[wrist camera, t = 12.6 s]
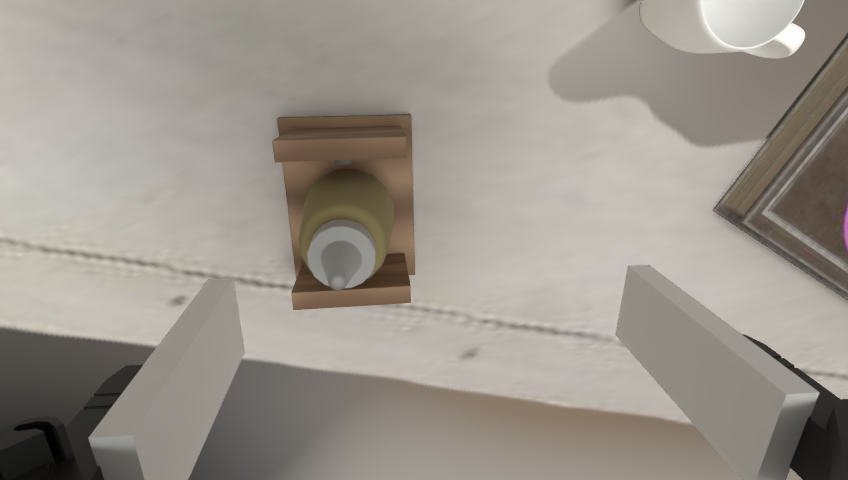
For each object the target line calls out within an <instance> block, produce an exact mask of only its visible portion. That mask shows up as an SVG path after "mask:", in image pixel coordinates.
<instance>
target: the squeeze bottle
mask: <svg viewBox="0 0 848 480" xmlns="http://www.w3.org/2000/svg"><path fill="white" fill-rule="evenodd" d="M393 224H394V202H393V200H392V198H391V196H390V194H389V192H388V190H387V188H386V187H385V186H384V185H383V184H382V183H381V182H380V181H379V180H378V179H377V178H375V177H374V176H373V175H371V174H368V173H366V172H363V171H360V170H357V169H337V170H335V171H333V172H330V173H328V174H326V175H324V176H322V177H320V178H319V179H318V180H317V181H316V182H315V184H314V185H313V186H312V187H311V188H310V189H309V190H308V194H307V197H306V200H305V203H304V206H303V212H302V219H301V226H300V233H299V246H300V255H301V257H302V259H303V260H304V262H305V264H306V265H307V267H308V269H309V270H310V271H311V272H312V273H313V275H314V277H315V278H317V279H318V280H319V281H320V282H322V283H323V284H324V285H327V286H330V287H331V288H332V289H334V290H341V289H344V288H352V287H354V286H357V285H359V284H361V283H363V282H364V281H365V280H366V279H368V278H370V277H372V276H373V275H374V274H375V273H376V272H377V270H378V269H379V268H380V267H381V266H382V265H383V262H384V260H385V257H386V255H387V252H388V249H389V244H390V239H391V234H392V229H393Z"/></svg>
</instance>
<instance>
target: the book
mask: <svg viewBox="0 0 848 480" xmlns="http://www.w3.org/2000/svg"><path fill="white" fill-rule="evenodd" d="M765 139H768V140H767V141H766V142H765V144H764V145H763V146H762V148H761V149H760V150H759V151H758V153H757V154H756V155H755V157H754V158H753V159H752V160H751V162H750V163H749V164H748V166H747V167H746V168H745V169H744V171H743V172H742V173H741V175H740V176H739V177H738V178H737V180H736V181H735V182H734V183H733V185H732V186H731V187H730V189H729V190H728V191H727V192H726V194H725V195H724V196H723V198H722V199H721V200H720V201H719V203H718V204H717V205H716V207H715V208H714V209H713V211H714V212H716V213H717V214H719V215H720V216H722V217H723V218H725V219H726V220H728V221H729V222H731V223H732V224H734V225H735V226H737V227H738V228H740V229H741V230H743V231H744V232H746V233H747V234H749V235H750V236H752V237H753V238H755V239H756V240H758V241H759V242H761V243H762V244H764V245H765V246H767V247H768V248H770V249H771V250H773V251H774V252H776V253H777V254H779V255H780V256H782V257H783V258H785V259H786V260H788V261H789V262H791V263H792V264H794V265H795V266H797V267H799V268H800V269H802V270H803V271H805V272H806V273H808V274H809V275H811V276H812V277H814V278H815V279H817V280H818V281H820V282H821V283H823V284H824V285H826V286H827V287H829V288H830V289H832V290H833V291H835V292H836V293H838V294H839V295H841V296H842V297H844V298H845V299H847V300H848V33H847V34H846V36H845V37H844V38H843V39H842V41H841V42H840V43H839V44H838V46H837V47H836V48H835V50H834V51H833V52H832V53H831V55H830V56H829V57H828V59H827V60H826V61H825V62H824V64H823V65H822V66H821V68H820V69H819V70H818V71H817V73H816V74H815V75H814V77H813V78H812V79H811V80H810V82H809V83H808V84H807V85H806V87H805V88H804V89H803V91H802V92H801V93H800V94H799V96H798V97H797V98H796V100H795V101H794V102H793V103H792V105H791V106H790V107H789V109H788V110H787V111H786V113H785V114H784V115H783V116H782V118H781V119H780V120H779V121H778V123H777V124H776V126H774V128H773V129H772V130H771V132H770V133H769V134H768V136H767V137H766V138H765ZM765 139H764V140H765Z"/></svg>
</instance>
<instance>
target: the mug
mask: <svg viewBox="0 0 848 480" xmlns="http://www.w3.org/2000/svg"><path fill="white" fill-rule="evenodd" d="M803 3H804V0H641V3H640V9H639V14H640V19H641V22H642V24H643V26H644V27H645V28H646V29H647V30H648V31H650V32H651V33H653V34H654V35H655V36H656V37H658V38H659V39H661V40H662V41H663V42H665V43H666V44H668V45H670V46H672V47H674V48H676V49H678V50H682V51H686V52H691V53H724V52H739V51H743V52H747V53H749V54H753V55H756V56H760V57H767V58H784V57H788V56H790V55H792V54H793V53H794V52H795V51H796V50H797V49H798V48H799V47H800V46H801V44H802V42H803V41H804V38H805V32H804V31H803V29H802V28H800V27H799V26H797V25H795V24H793V23H791V22H792V21H793V20H794V18H795V17H796V15H797V14H798V12H799V10H800V9H801V7H802V5H803Z"/></svg>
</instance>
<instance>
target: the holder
mask: <svg viewBox="0 0 848 480" xmlns="http://www.w3.org/2000/svg"><path fill="white" fill-rule="evenodd" d="M277 121H278V129H279V137H277V138H276V139H274V140H273V141H272V143H273V151H274V158H275V162H283V171H284V179H285V187H286V196H287V204H288V212H289V221H290V229H291V237H292V246H293V254H294V262H295V271H296V282H295V285H294V287H293V290H292V293H291V294H292V302H293V310H302V309H318V308H334V307H350V306H367V305H383V304H399V303H411V293H410V281H409V276H408V275H415V255H414V213H413V172H412V130H411V115H410V114H404V115H364V116H324V117H284V118H278V119H277ZM337 169H357V170H360V171H363V172H366V173H368V174H371V175H373V176H374V177H375V178H377V179H378V180H379V181H380V182H381V183H382V184H383V185H384V186H385V187H386V188H387V190H388V192H389V194H390V196H391V198H392V200H393V202H394V224H393V229H392V234H391V239H390V244H389V249H388V252H387V255H386V257H385V260H384V262H383V265H382V266H381V267H380V268H379V269H378V270H377V272H376V273H375V274H374V275H373V276H372V277H370V278H368V279H366V280H365V281H364V282H363V283H361V284H359V285H357V286H354V287H352V288H344V289H341V290H334V289H332V288H331V287H330V286H327V285H324V284H323V283H322V282H320V281H319V280H318V279H317V278H315V277H314V275H313V273H312V272H311V271H310V270H309V269H308V267H307V265H306V264H305V262H304V260H303V259H302V257H301V255H300V246H299V233H300V226H301V219H302V212H303V206H304V203H305V200H306V197H307V194H308V190H309V189H310V188H311V187H312V186H313V185H314V184H315V182H316V181H317V180H318V179H319V178H320V177H322V176H324V175H326V174H328V173H330V172H333V171H335V170H337Z"/></svg>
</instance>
